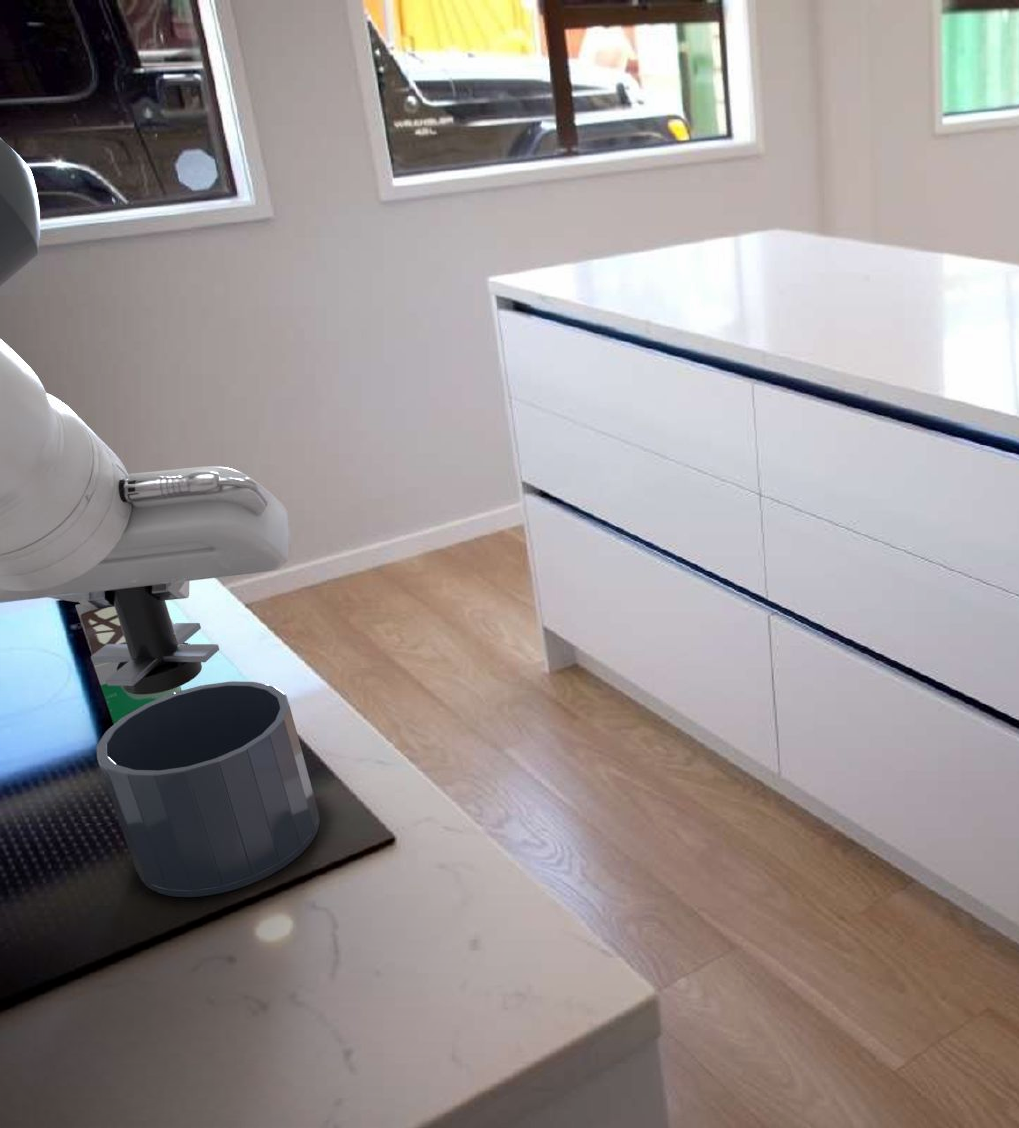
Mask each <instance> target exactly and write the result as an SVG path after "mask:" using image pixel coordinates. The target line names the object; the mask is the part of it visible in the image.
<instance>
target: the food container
mask: <svg viewBox="0 0 1019 1128" xmlns="http://www.w3.org/2000/svg"><path fill="white" fill-rule="evenodd" d="M75 609H76V612H77V615H78V618H79V621H80V624H81V627H82V630H83V633H84V636H85V639H86V642H87V645H88V648H89V651H90V654H91V656H92V655H93V654H95V653H96V652H97V651H99V650H100V649H101V648H102V647H104V646H105V645H106V644H126V641H125V638H124V635H123V632H122V628H121V625H120V622H119V619H118V616H117V613H116V610H115V607H108V608H100V609H91V610H89V609H87V608H86V607H85V606H83V605H82V604H80V603H79V604H75ZM170 619H171V622H172V625H174V624H175V623H174V622H173V619H172V618H171V617H170ZM119 663H120V662H92V665H93V668H94V671H95V673H96V676H97V679H98V682H99V685H100V688H101V691H102V694H103V697H104V699H105V702H106V705H107V708H108V711H109V715H110V718H111V720H112V723H113V725H114V724H115V723H117V722H118V721H119V720H120V719H121V718H123V717H124V716H126V715H127V714H129V713H131V712H133V711H135V710H136V709H138V708H140V707H142V706H143V705H145V704H148V703H149V702H152V701H155V700H157V699H160V698H162V697H165V696H167V695H170V694H172V693H175V692H179V691H182V687H181V686H182V685H181V686H179V687H177V688H174V689H171V690H168V691H164V692H159V693H154V694H142V695H141V694H132V693H128V692H126V691H125V690H124V689H123V688H122V686H107V683H106V680H107V679H108V678H109V677H110V676H111V675H113V674H114V673H115V672H116V671H117V666H118V664H119Z"/></svg>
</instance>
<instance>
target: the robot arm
mask: <svg viewBox="0 0 1019 1128" xmlns="http://www.w3.org/2000/svg"><path fill="white" fill-rule="evenodd" d="M39 203H40V202H39V196H38V192H37V186H36V182H35V179H34V176H33V173H32V170H31V168H30V167H29V166H28V164H27V163H26V162H25V160H23V158H22V157H21V156H20V154H18V152H16V150H14V149H13V148H12V147H11V146H10V145H8V143H6V142H5V141H4V140H3V138H1V137H0V287H1V286H3V285H4V284H5V283H7V281H9V280H10V279H11V278H12V277H13V276H14V275H16V274H17V273H19V271H20V270H22V269H23V268H24V267H25V266H27V265H28V264H29V263H30V262H31V261H32V260H34V259H35V258H36V257H38V254H39V251H40V239H41V214H40V213H41V212H40V204H39ZM290 529H291V528H290V519H289V514H288V511H287V509H286V508H285V506H284V504H282V503H281V502H280V501H279V499H277V498H276V497H275V496H274V495H273V494H272V493H271V492H270V491H268V490H267V489H266V488H265V487H263V486H262V485H261V484H260V483H258V482H257V481H256V480H255V479H253V478H251V477H250V476H249V475H247V474H245V473H243V472H241V471H239V470H236V469H233V468H229V467H224V466H216V465H215V466H213V465H212V466H210V465H209V466H207V465H206V466H194V467H184V468H174V469H164V470H154V471H144V472H135V473H128V471H127V469H126V467H125V465H124V464H123V462H122V460H121V459H120V458H119V456H118V455H117V454H116V453H115V452H114V451H113V450H112V449H111V448H110V447H109V446H108V445H107V444H106V443H105V442H104V440H102V439H101V438H100V436H98V435H97V434H96V433H95V432H94V431H93V430H92V429H91V428H90V427H89V426H88V425H87V424H86V423H85V422H84V421H83V420H82V419H81V418H80V416H78V415H77V414H76V412H75V411H73V410H72V409H71V408H70V407H69V406H68V405H67V404H65V403H64V402H62V401H61V400H60V399H58V398H57V397H55V396H53V395H52V394H50V393H47V391H46V389H45V387H44V385H43V383H42V381H41V380H40V378H39V377H38V375H37V374H36V373H35V372H34V370H33V369H32V368H31V367H30V366H29V365H28V364H27V363H26V362H25V361H24V359H22V357H20V356H19V355H18V354H17V353H16V352H15V351H14V350H13V349H12V348H11V347H10V346H9V345H8V344H7V343H6V342H4V341H3V340H2V339H1V338H0V604H3V603H4V604H5V603H12V602H13V603H14V602H21V601H29V600H38V599H47V598H49V599H54V600H60V601H66V602H72V603H79V604H82V605H83V606H85V607H86V608H87V609H89V610H91V609H100V608H108V607H115V606H114V603H113V600H112V597H111V594H110V591H109V590H116V589H124V588H133V587H141V586H150V585H152V594H153V595H155V596H156V597H159V600H161V601H164V600H165V601H171V600H184V599H188V598H189V597H190V582H191V581H199V580H201V581H202V580H209V579H218V578H226V577H236V576H244V575H252V574H261V573H262V574H263V573H270V572H274V571H278V570H280V568H282V567H283V566H284V565H285V564H286V563H287V562H288V560H289V558H290V553H291V532H290V531H291V530H290Z"/></svg>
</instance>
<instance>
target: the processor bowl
mask: <svg viewBox="0 0 1019 1128" xmlns="http://www.w3.org/2000/svg"><path fill="white" fill-rule="evenodd" d="M181 690H182V689H181ZM290 705H291V704H290V703H289V699H288V696H287V695H286V693H284V692H283V691H281V689H278V688H277V687H275V686H273V685H270V684H266V683H262V682H257V681H239V680H238V681H237V680H236V681H235V680H234V681H233V680H232V681H231V680H230V681H224V682H216V683H209V684H202V685H197V686H194V687H190V688H186V689H183V690H182V691H179V692H175V693H172V694H170V695H167V696H165V697H162V698H160V699H157V700H155V701H152V702H149V703H148V704H145V705H143V706H142V707H140V708H138V709H136V710H135V711H133V712H131V713H129V714H127V715H126V716H124V717H123V718H121V719H120V720H119V721H118V722H117V723H115V724H114V723H113V725H112V726H110V728H108V729H107V730H106V731H105V732H104V734H103V735H102V737H101V739H100V740H99V742H98V743H97V745H96V760H97V763H98V766H99V769H100V771H101V774H102V778H103V780H104V783H105V785H106V789H107V792H108V794H109V797H110V800H111V803H112V806H113V809H114V812H115V814H116V817H117V820H118V822H119V826H120V828H121V830H122V831H121V832H122V834H123V838H124V840H125V843H126V846H127V848H128V851H129V855H130V858H131V860H132V863H133V866H134V869H135V872H137V874H138V877H139V878H140V881H141V882H142V883H143V885H144V886H145V887H147V888H148V889H149V890H151V891H153V892H155V893H158V894H160V895H164V896H168V897H174V898H201V897H202V898H203V897H208V896H209V897H210V896H214V895H219V894H223V893H224V894H225V893H228V892H231V891H235V890H239V889H241V888H244V887H247V886H250V885H252V884H255V883H257V882H260V881H263V880H264V879H266V878H268V877H270V876H272V875H274V874H275V873H277V872H279V871H281V870H282V869H284V868H286V867H287V866H289V864H291V863H292V862H294V861H295V860H296V859H298V858H299V857H300V856H301V855H302V854H303V853H304V852H305V851H306V850H307V849H308V848H309V847H310V845H311V844H312V843H313V842H314V840H315V838H316V836H317V834H318V831H319V829H320V822H321V819H320V814H319V809H318V805H317V802H316V798H315V794H314V790H313V786H312V784H311V779H310V776H309V772H308V769H307V764H306V761H305V758H304V757H305V756H304V755H303V750H302V747H301V743H300V740H299V736H298V735H299V734H298V731H297V727H296V724H295V721H294V717H293V713H292V710H291V706H290Z"/></svg>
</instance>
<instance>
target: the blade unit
mask: <svg viewBox="0 0 1019 1128" xmlns="http://www.w3.org/2000/svg"><path fill="white" fill-rule="evenodd" d="M109 591H110V594H111V597H112V600H113V603H114V606H115V610H116V613H117V616H118V619H119V622H120V625H121V628H122V632H123V635H124V638H125V641H126V644H106V645H105V646H104V647H102V648H101V649H100V650H99V651H97V652H96V653H95V654H93V655H92V654H91V655H90V660H91V662H92V663H93V662H120V663H119V664H118V666H117V671H116V672H115V673H114V674H113V675H111V676H110V677H109V678H108V679H107V680H106V683H107V686H122V688H123V689H124V690H125V691H126V692H128V693H132V694H141V695H142V694H154V693H159V692H164V691H168V690H171V689H174V688H177V687H179V686H184V685H186V684H187V683H189V682H191V681H193V679H195V678H196V677H197V676H198V675H200V673H201V671H202V669H203V666H202V663H206V662H207V661H209V660H210V659H211V658H212V657H213V656H214V655H215V654H216V653H217V652H218V651H220V647H219V644H218V643H213V644H212V643H188V642H187V641H188V640H189V639H190V638H192V637H193V636H194V635H195V634H196V633H198V632H199V631H200V630H201V629H202V627H201V623H200V622H175V623H174V625H172V622H173V621H172V622H171V620H172V618H171V616H170V613H169V612H170V611H169V609H168V605H167V601H166V600H164V601H161V600H159V597H156V596H155V595H153V594H152V585H150V586H141V587H133V588H124V589H116V590H109ZM170 618H171V619H170Z"/></svg>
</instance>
